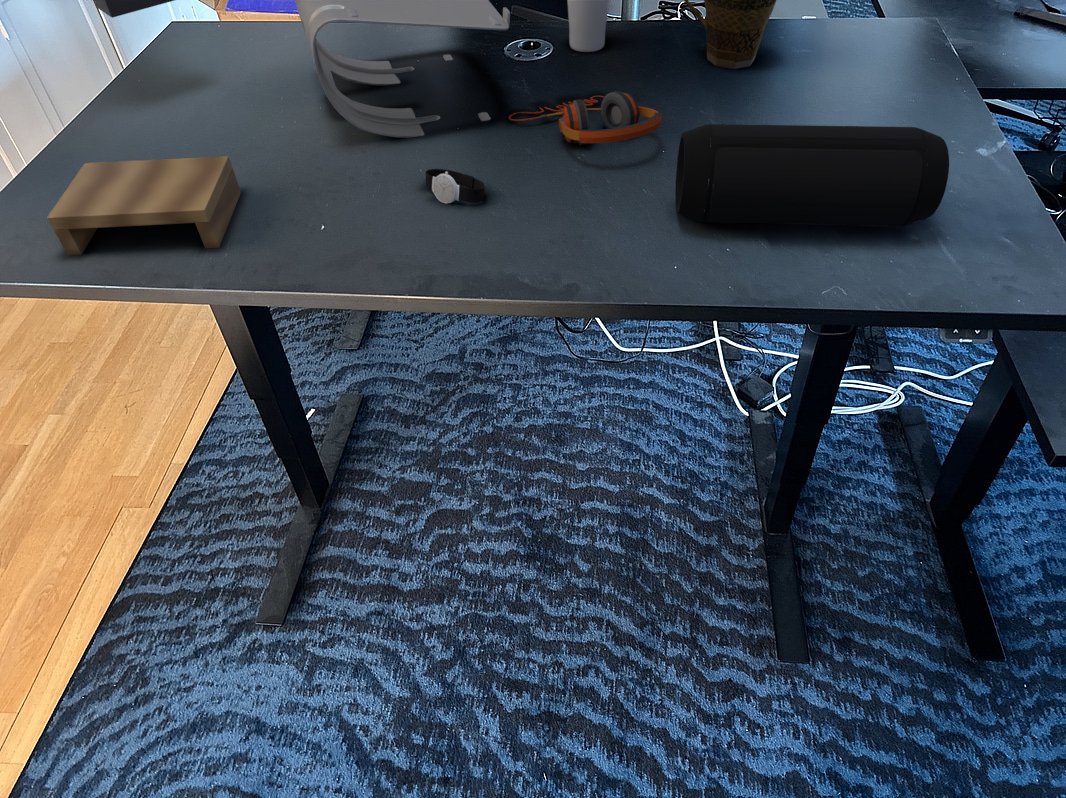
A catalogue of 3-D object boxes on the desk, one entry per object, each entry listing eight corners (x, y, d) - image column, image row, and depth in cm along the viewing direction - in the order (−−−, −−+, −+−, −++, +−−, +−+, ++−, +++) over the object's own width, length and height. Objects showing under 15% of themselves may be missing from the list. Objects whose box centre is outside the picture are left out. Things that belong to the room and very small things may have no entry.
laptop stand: (311, 73, 112) (284, -44, 101) (468, 49, 117) (458, -66, 106) (336, 156, 95) (306, 26, 84) (518, 123, 100) (512, -4, 89)
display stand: (68, 258, 82) (46, 217, 78) (103, 202, 89) (84, 162, 86) (220, 250, 82) (204, 209, 78) (242, 195, 90) (228, 155, 86)
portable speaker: (903, 195, 86) (935, 109, 79) (927, 247, 79) (964, 158, 72) (672, 190, 88) (682, 106, 81) (676, 241, 81) (687, 153, 74)
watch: (417, 195, 89) (413, 167, 86) (442, 177, 91) (439, 149, 89) (470, 215, 85) (467, 186, 83) (495, 196, 88) (493, 167, 85)
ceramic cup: (773, 51, 114) (787, -23, 106) (756, 79, 107) (770, 2, 100) (688, 38, 118) (696, -33, 110) (667, 64, 111) (674, -10, 104)
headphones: (504, 135, 103) (568, 172, 87) (498, 94, 100) (564, 124, 84) (615, 110, 107) (695, 140, 92) (613, 69, 105) (695, 94, 89)
